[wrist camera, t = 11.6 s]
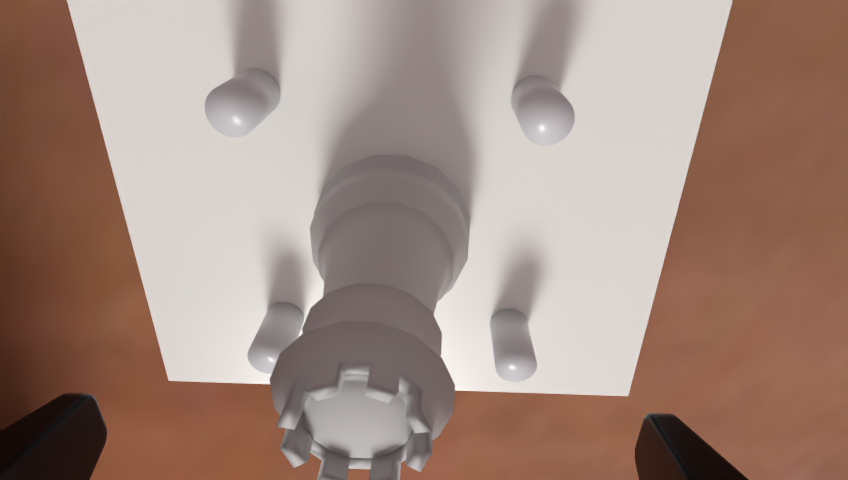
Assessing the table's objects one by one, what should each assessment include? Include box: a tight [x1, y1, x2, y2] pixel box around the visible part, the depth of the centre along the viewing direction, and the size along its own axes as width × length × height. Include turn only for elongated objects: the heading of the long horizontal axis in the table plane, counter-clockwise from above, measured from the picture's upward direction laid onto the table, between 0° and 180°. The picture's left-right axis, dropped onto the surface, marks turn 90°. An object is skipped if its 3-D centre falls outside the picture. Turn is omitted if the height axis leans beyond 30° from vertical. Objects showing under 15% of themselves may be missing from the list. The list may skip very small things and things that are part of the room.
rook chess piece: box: [270, 155, 470, 480], centre depth 12 cm, size 4×4×8 cm
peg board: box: [67, 0, 733, 396], centre depth 15 cm, size 16×13×3 cm
